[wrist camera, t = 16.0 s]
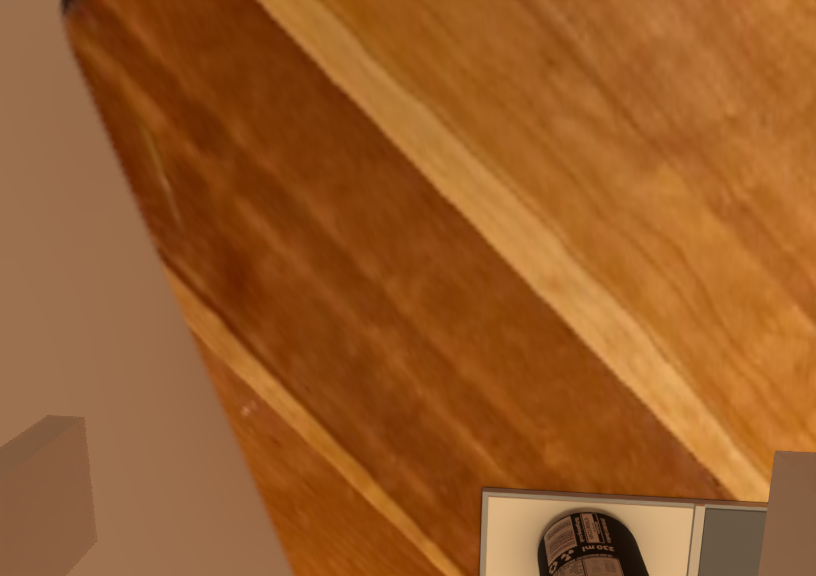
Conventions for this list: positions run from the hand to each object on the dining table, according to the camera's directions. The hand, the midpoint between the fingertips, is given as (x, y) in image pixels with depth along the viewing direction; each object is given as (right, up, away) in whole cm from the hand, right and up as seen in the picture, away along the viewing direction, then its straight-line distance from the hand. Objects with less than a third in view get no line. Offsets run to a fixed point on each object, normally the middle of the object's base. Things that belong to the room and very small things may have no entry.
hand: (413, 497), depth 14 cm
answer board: (+19, -14, +34) cm, 41 cm away
